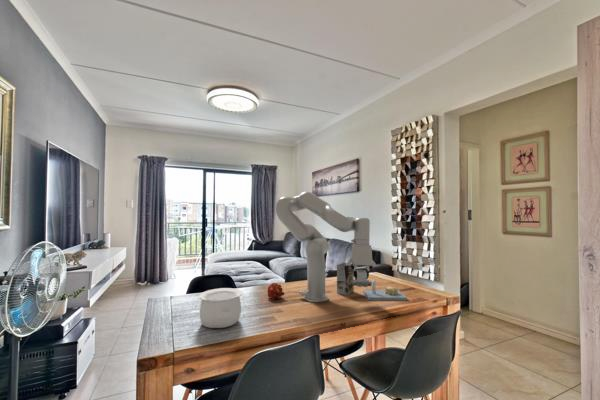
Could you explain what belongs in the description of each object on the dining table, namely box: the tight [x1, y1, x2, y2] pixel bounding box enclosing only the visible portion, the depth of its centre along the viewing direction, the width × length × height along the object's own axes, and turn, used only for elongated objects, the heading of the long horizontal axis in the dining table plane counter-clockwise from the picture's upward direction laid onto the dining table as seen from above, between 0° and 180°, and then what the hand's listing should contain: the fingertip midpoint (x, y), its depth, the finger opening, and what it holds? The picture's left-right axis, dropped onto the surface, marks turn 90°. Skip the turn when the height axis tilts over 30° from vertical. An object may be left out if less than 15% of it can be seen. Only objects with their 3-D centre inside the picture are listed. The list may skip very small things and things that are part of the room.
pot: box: [198, 287, 243, 329], centre depth 118 cm, size 22×17×12 cm
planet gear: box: [350, 269, 372, 288], centre depth 142 cm, size 11×11×6 cm
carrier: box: [362, 279, 408, 301], centre depth 154 cm, size 20×14×8 cm
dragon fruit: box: [267, 282, 285, 301], centre depth 151 cm, size 8×8×12 cm
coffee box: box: [336, 262, 355, 296], centre depth 161 cm, size 9×6×16 cm
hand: (361, 278), depth 142 cm, fingers closed on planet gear, 4 cm apart
